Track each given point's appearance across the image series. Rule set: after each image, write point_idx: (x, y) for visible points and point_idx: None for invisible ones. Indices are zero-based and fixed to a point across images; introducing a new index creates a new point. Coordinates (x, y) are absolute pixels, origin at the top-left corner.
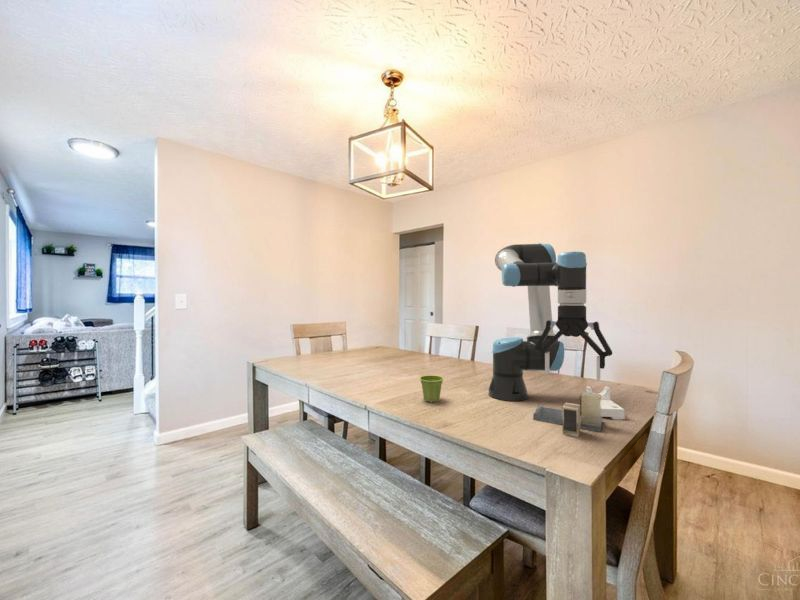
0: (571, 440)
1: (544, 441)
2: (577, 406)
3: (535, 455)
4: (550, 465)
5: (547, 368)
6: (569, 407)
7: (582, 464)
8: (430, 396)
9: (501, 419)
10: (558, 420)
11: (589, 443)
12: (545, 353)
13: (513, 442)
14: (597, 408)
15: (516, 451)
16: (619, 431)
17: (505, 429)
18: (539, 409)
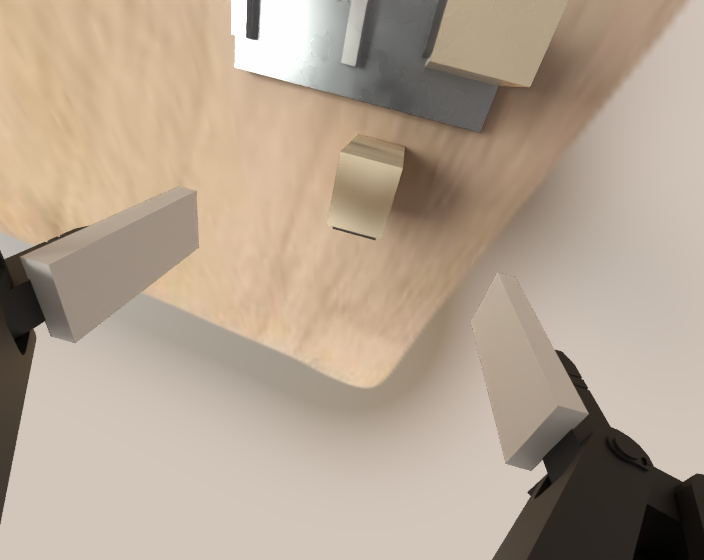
0: None
1: (299, 259)
2: (386, 198)
3: (287, 329)
4: (316, 357)
5: (172, 266)
6: (352, 223)
7: (373, 343)
8: None
9: (147, 117)
10: (333, 93)
11: (412, 239)
12: (58, 334)
13: (234, 283)
14: (500, 83)
15: (250, 321)
16: (562, 89)
17: None
18: (246, 20)
